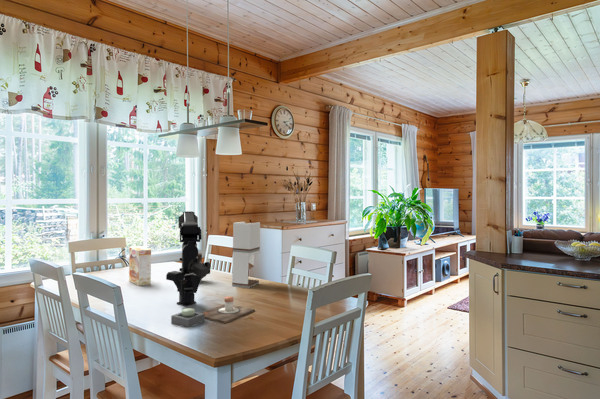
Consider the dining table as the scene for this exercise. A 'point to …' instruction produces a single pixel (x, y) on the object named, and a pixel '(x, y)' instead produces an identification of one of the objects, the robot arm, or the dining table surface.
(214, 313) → the colouring board
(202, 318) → the button housing
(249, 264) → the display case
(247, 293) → the dining table surface
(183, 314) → the button
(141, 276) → the coffeecake box
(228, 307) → the mushroom
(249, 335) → the dining table surface
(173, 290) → the dining table surface
